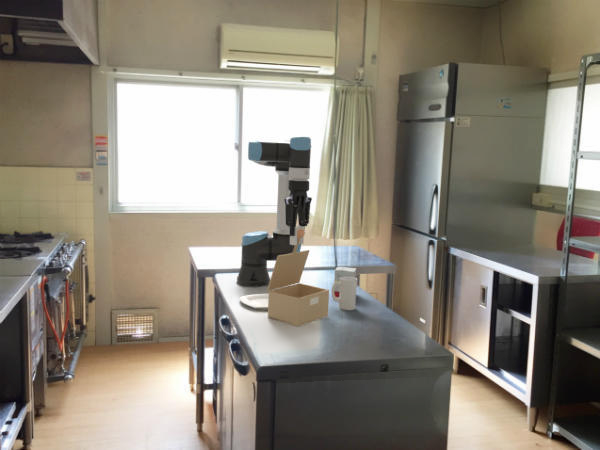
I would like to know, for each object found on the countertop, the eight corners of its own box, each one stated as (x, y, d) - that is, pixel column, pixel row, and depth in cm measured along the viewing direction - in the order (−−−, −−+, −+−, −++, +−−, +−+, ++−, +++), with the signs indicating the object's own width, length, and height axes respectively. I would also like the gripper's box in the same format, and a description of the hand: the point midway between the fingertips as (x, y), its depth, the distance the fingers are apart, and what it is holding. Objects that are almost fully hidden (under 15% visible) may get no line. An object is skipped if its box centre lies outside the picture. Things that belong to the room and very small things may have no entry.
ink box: (352, 298, 238) (354, 271, 236) (332, 297, 240) (334, 269, 238) (355, 293, 246) (356, 267, 245) (335, 292, 248) (337, 265, 246)
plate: (251, 313, 212) (252, 308, 211) (233, 300, 228) (233, 295, 228) (297, 309, 220) (297, 304, 220) (276, 296, 237) (277, 292, 237)
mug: (352, 305, 227) (354, 276, 226) (357, 310, 221) (359, 280, 219) (328, 306, 225) (330, 276, 224) (332, 310, 219) (334, 280, 217)
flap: (270, 292, 204) (264, 288, 206) (301, 284, 218) (295, 280, 220) (288, 233, 197) (282, 229, 199) (319, 229, 211) (313, 225, 213)
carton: (267, 317, 206) (268, 291, 205) (298, 308, 220) (299, 283, 219) (297, 326, 198) (299, 298, 196) (327, 316, 212) (329, 290, 210)
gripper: (293, 180, 195) (290, 248, 198) (320, 180, 208) (318, 243, 211) (276, 179, 200) (274, 245, 203) (304, 178, 212) (302, 240, 215)
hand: (296, 244), depth 207 cm, fingers closed on flap, 3 cm apart
